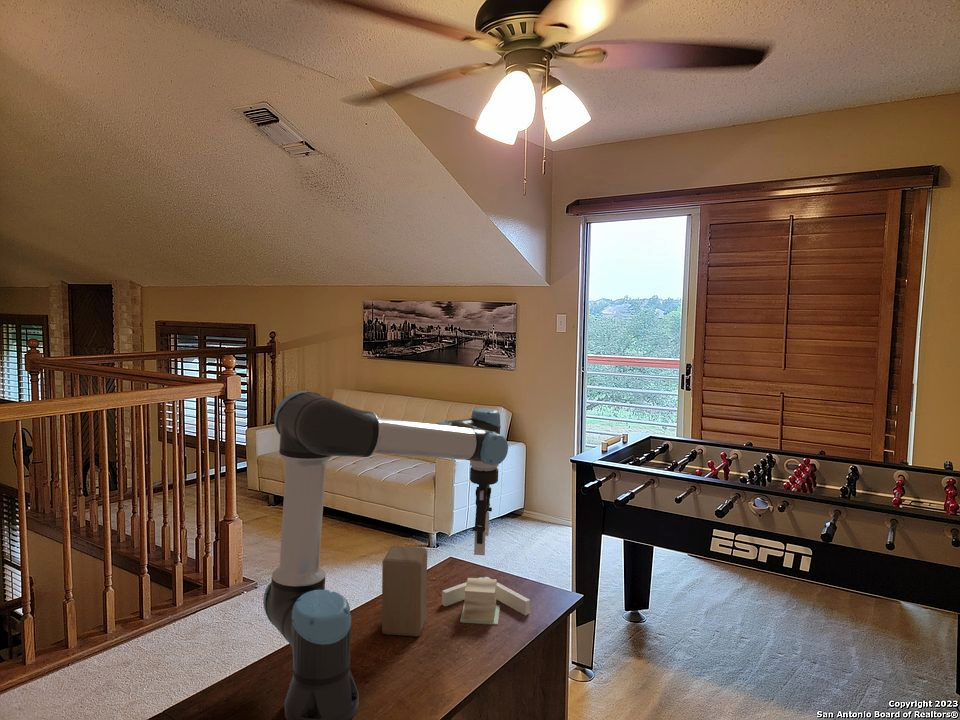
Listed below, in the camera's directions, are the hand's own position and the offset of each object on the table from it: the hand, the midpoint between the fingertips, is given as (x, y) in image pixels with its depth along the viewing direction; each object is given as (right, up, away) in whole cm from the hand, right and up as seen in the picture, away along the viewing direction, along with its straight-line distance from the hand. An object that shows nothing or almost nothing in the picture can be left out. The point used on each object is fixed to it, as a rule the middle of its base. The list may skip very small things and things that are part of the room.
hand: (481, 544), depth 178 cm
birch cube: (0, -19, +2) cm, 20 cm away
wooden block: (-20, -20, -5) cm, 29 cm away
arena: (0, -19, +5) cm, 20 cm away
